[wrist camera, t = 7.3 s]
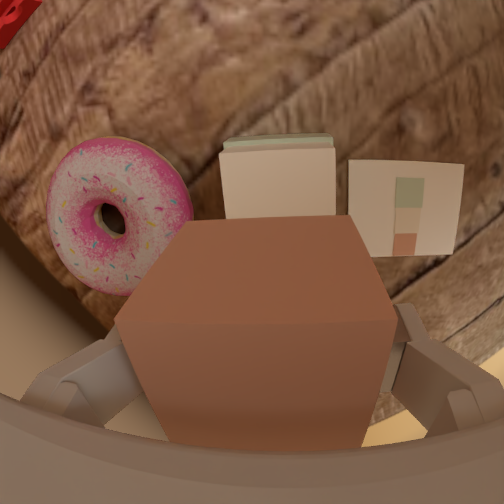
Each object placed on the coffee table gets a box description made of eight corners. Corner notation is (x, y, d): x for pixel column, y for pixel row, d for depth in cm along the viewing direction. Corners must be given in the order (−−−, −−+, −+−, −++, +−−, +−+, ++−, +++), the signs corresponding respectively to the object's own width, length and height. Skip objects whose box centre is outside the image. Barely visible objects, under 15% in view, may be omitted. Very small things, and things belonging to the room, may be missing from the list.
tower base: (327, 132, 22) (340, 142, 16) (329, 222, 25) (339, 258, 19) (231, 137, 23) (212, 149, 17) (239, 225, 26) (226, 261, 20)
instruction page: (463, 164, 21) (464, 164, 21) (451, 253, 24) (453, 254, 24) (348, 159, 22) (349, 160, 22) (346, 256, 26) (346, 258, 26)
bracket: (31, -22, 16) (13, -26, 13) (44, 2, 18) (24, -2, 15) (-5, 23, 18) (-24, 22, 15) (6, 48, 20) (-14, 48, 17)
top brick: (349, 214, 9) (398, 318, 5) (340, 342, 11) (356, 458, 7) (186, 221, 10) (113, 319, 5) (209, 343, 12) (176, 453, 8)
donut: (205, 134, 23) (185, 143, 18) (200, 286, 29) (185, 320, 24) (62, 134, 24) (26, 145, 19) (76, 265, 30) (50, 291, 25)
